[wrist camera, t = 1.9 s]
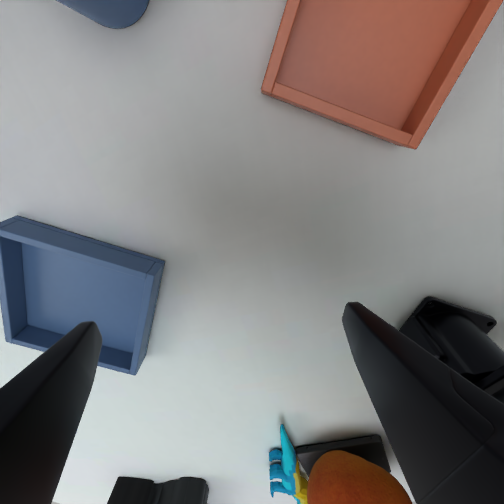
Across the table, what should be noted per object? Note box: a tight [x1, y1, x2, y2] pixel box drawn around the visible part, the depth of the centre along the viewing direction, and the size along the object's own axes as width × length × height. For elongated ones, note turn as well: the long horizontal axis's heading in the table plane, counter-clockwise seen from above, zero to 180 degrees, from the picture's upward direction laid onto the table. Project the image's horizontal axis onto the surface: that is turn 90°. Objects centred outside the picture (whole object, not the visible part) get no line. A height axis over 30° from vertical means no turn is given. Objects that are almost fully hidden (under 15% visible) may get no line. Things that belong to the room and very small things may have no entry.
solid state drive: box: [296, 436, 391, 477], centre depth 33 cm, size 7×10×1 cm
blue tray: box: [0, 216, 165, 375], centre depth 23 cm, size 12×12×2 cm
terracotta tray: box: [261, 0, 503, 149], centre depth 13 cm, size 9×9×2 cm
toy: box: [269, 424, 308, 504], centre depth 32 cm, size 17×3×5 cm
